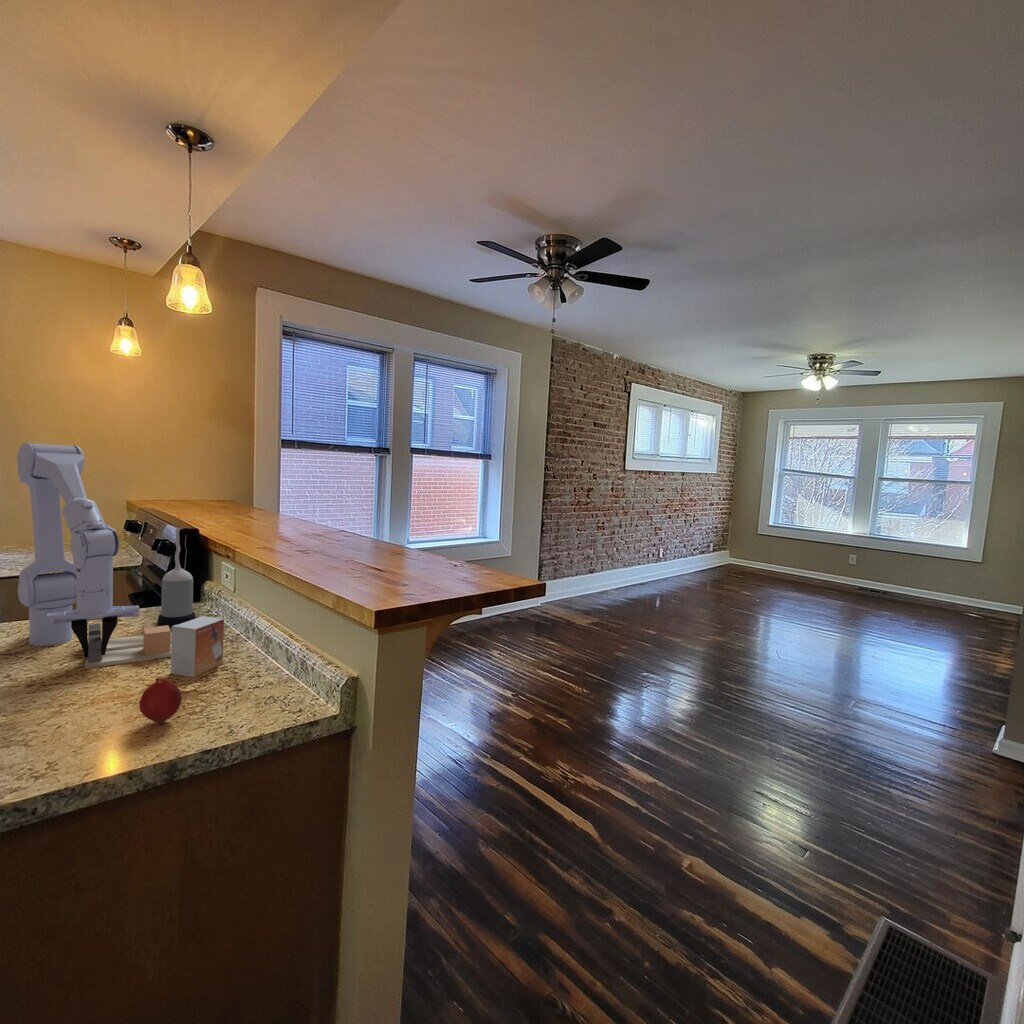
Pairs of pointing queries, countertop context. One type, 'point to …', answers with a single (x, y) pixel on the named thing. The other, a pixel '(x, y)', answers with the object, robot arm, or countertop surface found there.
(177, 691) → the onion
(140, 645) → the far strip
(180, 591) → the humidifier
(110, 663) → the near strip
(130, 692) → the countertop surface
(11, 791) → the countertop surface
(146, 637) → the block
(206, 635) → the small box
